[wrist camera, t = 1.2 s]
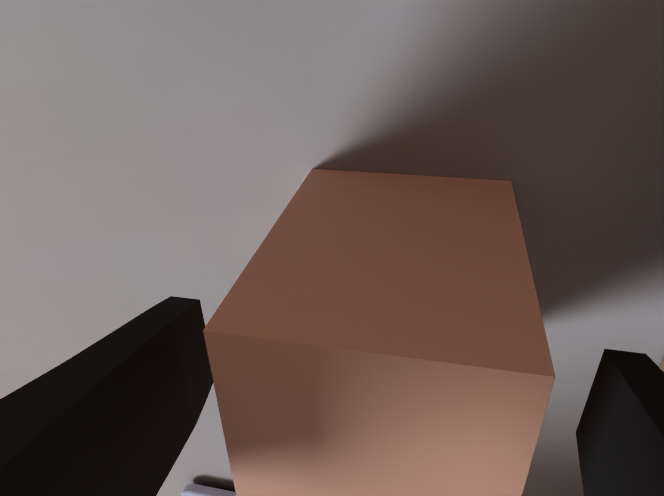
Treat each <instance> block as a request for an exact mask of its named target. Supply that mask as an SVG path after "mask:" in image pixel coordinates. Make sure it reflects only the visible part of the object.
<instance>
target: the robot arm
mask: <svg viewBox="0 0 664 496" xmlns="http://www.w3.org/2000/svg"><path fill="white" fill-rule="evenodd" d="M204 328H205V324H204V319H203V314H202V309H201V304H200V300H197V299H189V298H180V297H172V296H171V297H169V298H167V299H165V300H164V301H162V302H160V303H158V304H157V305H155V306H153V307H152V308H150V309H148V310H147V311H145V312H144V313H142V314H140V315H139V316H137V317H136V318H134V319H132V320H131V321H129V322H128V323H126V324H125V325H123V326H121V327H120V328H118V329H117V330H115V331H114V332H112V333H110V334H109V335H107V336H106V337H104V338H102V339H101V340H99V341H98V342H96V343H94V344H93V345H91V346H90V347H88V348H86V349H85V350H83V351H82V352H80V353H78V354H77V355H75V356H74V357H72V358H70V359H69V360H67V361H66V362H64V363H62V364H60V365H59V366H57V367H55V368H54V369H52V370H50V371H48V372H47V373H45V374H43V375H41V376H40V377H38V378H36V379H35V380H33V381H31V382H29V383H28V384H26V385H24V386H23V387H21V388H19V389H17V390H16V391H14V392H12V393H10V394H9V395H7V396H5V397H4V398H2V399H0V496H156V495H157V493H158V491H159V490H160V488H161V486H162V484H163V483H164V481H165V479H166V477H167V476H168V474H169V472H170V470H171V469H172V467H173V465H174V463H175V462H176V460H177V458H178V456H179V454H180V453H181V451H182V449H183V447H184V445H185V444H186V442H187V440H188V438H189V436H190V435H191V433H192V431H193V429H194V427H195V425H196V423H197V421H198V418H199V416H200V414H201V411H202V409H203V407H204V404H205V402H206V399H207V397H208V394H209V392H210V389H211V387H212V384H213V377H212V372H211V367H210V362H209V357H208V352H207V347H206V343H205V338H204V333H203V330H204ZM576 437H577V445H578V453H579V462H580V469H581V476H582V483H583V490H584V495H585V496H664V372H663V371H662V370H661V369H660V368H659V367H658V366H657V365H656V364H655V363H654V362H653V361H652V360H651V359H650V358H649V357H648V356H647V355H646V354H642V353H634V352H626V351H618V350H609V349H604V352H603V355H602V358H601V361H600V364H599V367H598V370H597V373H596V375H595V378H594V381H593V384H592V387H591V390H590V393H589V396H588V399H587V402H586V405H585V407H584V410H583V413H582V416H581V419H580V422H579V425H578V428H577V431H576ZM181 496H236V492H233V491H228V490H223V489H218V488H213V487H208V486H203V485H198V484H188V485H186V486H185V488H184V490H183V492H182V494H181Z"/></svg>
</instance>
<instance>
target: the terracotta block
mask: <svg viewBox="0 0 664 496" xmlns="http://www.w3.org/2000/svg"><path fill="white" fill-rule="evenodd" d="M203 333H204V338H205V343H206V347H207V352H208V357H209V362H210V367H211V372H212V377H213V382H214V387H215V392H216V397H217V402H218V407H219V412H220V417H221V422H222V427H223V432H224V437H225V442H226V447H227V452H228V457H229V462H230V467H231V472H232V477H233V482H234V487H235V492H236V496H522V493H523V489H524V486H525V482H526V479H527V475H528V472H529V468H530V465H531V461H532V458H533V454H534V450H535V447H536V443H537V440H538V436H539V433H540V429H541V426H542V422H543V419H544V415H545V412H546V408H547V405H548V401H549V398H550V394H551V390H552V387H553V383H554V380H555V374H554V369H553V365H552V360H551V356H550V351H549V347H548V342H547V338H546V334H545V329H544V325H543V320H542V316H541V311H540V307H539V302H538V298H537V294H536V289H535V285H534V280H533V276H532V271H531V267H530V262H529V258H528V253H527V249H526V245H525V240H524V236H523V231H522V227H521V222H520V218H519V213H518V209H517V205H516V200H515V196H514V191H513V187H512V182H511V181H505V180H489V179H473V178H456V177H440V176H423V175H407V174H390V173H374V172H357V171H341V170H324V169H312V170H311V171H310V173H309V174H308V176H307V177H306V179H305V180H304V182H303V183H302V185H301V186H300V188H299V189H298V191H297V192H296V193H295V195H294V196H293V198H292V199H291V201H290V202H289V204H288V205H287V207H286V208H285V210H284V211H283V213H282V214H281V216H280V217H279V219H278V220H277V222H276V223H275V225H274V226H273V228H272V229H271V230H270V232H269V233H268V235H267V236H266V238H265V239H264V241H263V242H262V244H261V245H260V247H259V248H258V250H257V251H256V253H255V254H254V256H253V257H252V259H251V260H250V262H249V263H248V265H247V266H246V267H245V269H244V270H243V272H242V273H241V275H240V276H239V278H238V279H237V281H236V282H235V284H234V285H233V287H232V288H231V290H230V291H229V293H228V294H227V296H226V297H225V299H224V300H223V301H222V303H221V304H220V306H219V307H218V309H217V310H216V312H215V313H214V315H213V316H212V318H211V319H210V321H209V322H208V324H207V325H206V327H205V328H204V330H203Z"/></svg>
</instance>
